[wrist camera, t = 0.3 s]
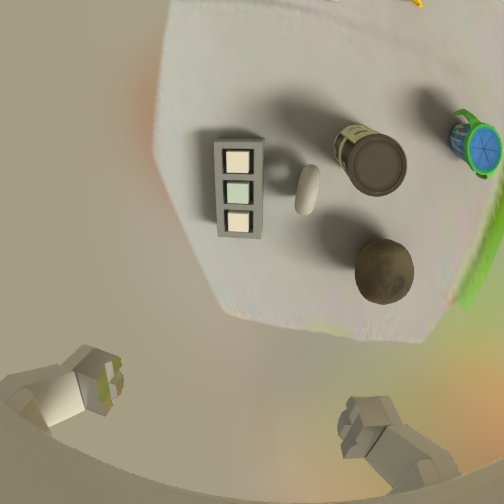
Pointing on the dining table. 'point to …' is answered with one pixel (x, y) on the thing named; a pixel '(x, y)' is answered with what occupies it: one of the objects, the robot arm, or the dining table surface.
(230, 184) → the key mid
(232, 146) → the keypad
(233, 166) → the key near
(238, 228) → the key far
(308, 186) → the donut
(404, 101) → the dining table surface
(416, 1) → the banana peel
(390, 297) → the coconut
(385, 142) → the coffee can
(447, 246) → the dining table surface
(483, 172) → the snack cup
